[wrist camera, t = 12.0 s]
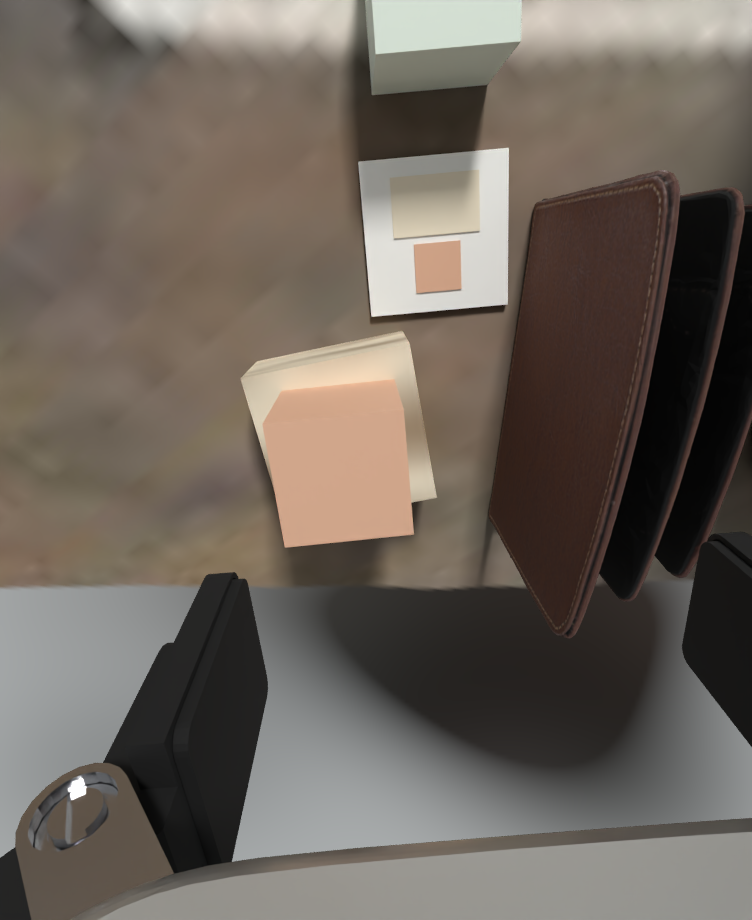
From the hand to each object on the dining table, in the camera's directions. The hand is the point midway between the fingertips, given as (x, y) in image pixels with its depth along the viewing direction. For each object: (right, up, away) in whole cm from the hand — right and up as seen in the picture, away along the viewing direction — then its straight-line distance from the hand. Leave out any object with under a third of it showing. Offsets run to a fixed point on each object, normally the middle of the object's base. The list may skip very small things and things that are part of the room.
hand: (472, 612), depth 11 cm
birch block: (-4, +6, +23) cm, 24 cm away
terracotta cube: (-4, +4, +18) cm, 19 cm away
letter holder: (+11, +8, +22) cm, 26 cm away
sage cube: (+1, +25, +15) cm, 29 cm away
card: (+1, +16, +19) cm, 24 cm away
